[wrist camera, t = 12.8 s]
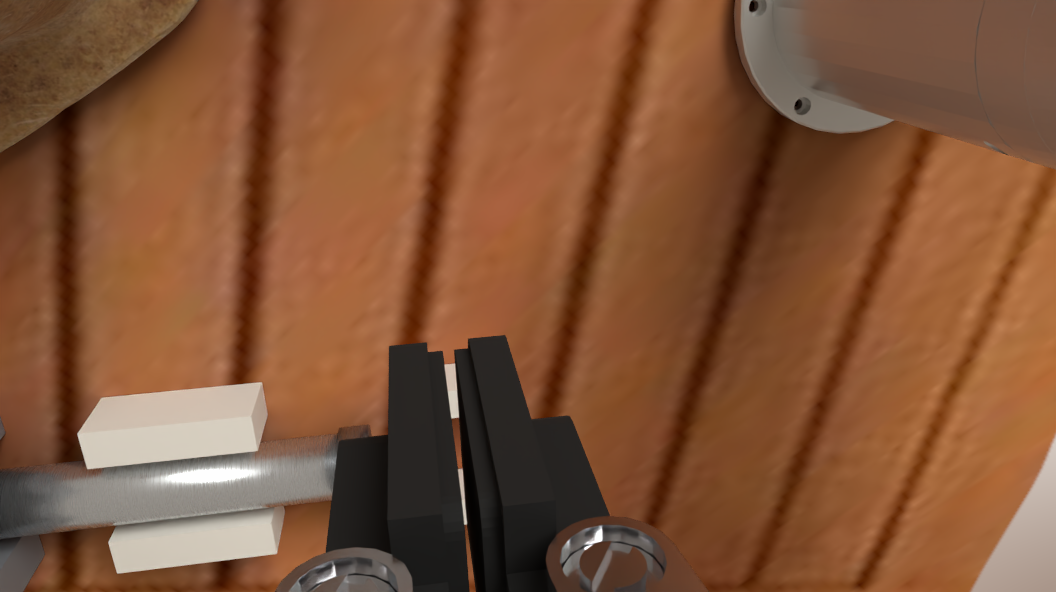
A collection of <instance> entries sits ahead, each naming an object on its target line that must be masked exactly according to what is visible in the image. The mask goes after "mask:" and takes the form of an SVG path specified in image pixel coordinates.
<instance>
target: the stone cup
mask: <svg viewBox="0 0 1056 592" xmlns="http://www.w3.org/2000/svg"><path fill="white" fill-rule="evenodd" d="M197 2H198V0H0V152H2V151H4V150H5V149H7V148H9V147H10V146H12V145H14V144H15V143H17V142H19V141H20V140H22V139H23V138H25V137H26V136H28V135H30V134H31V133H33V132H34V131H36V130H37V129H39V128H40V127H42V126H43V125H44V124H46V123H47V122H48V121H50V120H51V119H52V118H54V117H55V116H56V115H58V114H59V113H60V112H61V111H63V110H64V109H65V108H67V107H69V106H70V105H72V104H74V103H75V102H77V101H79V100H80V99H82V98H83V97H85V96H86V95H88V94H89V93H91V92H92V91H93V90H95V89H96V88H98V87H99V86H100V85H102V84H103V83H104V82H106V81H107V80H109V79H110V78H112V77H113V76H114V75H116V74H117V73H119V72H120V71H122V70H123V69H124V68H126V67H127V66H128V65H129V64H131V63H132V62H133V61H134V60H136V59H137V58H138V57H139V56H141V55H142V54H143V53H144V52H146V51H147V50H148V49H150V48H151V47H152V46H153V45H155V44H156V43H157V42H159V41H160V40H161V39H162V38H164V37H165V36H166V35H168V34H169V33H170V32H171V31H172V30H173V29H174V28H176V27H177V26H178V25H179V24H180V23H181V22H182V21H183V20H184V19H185V17H186V16H187V15H188V14H189V12H190V11H191V10H192V8H193V7H194V6H195V5H196V3H197Z"/></svg>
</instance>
